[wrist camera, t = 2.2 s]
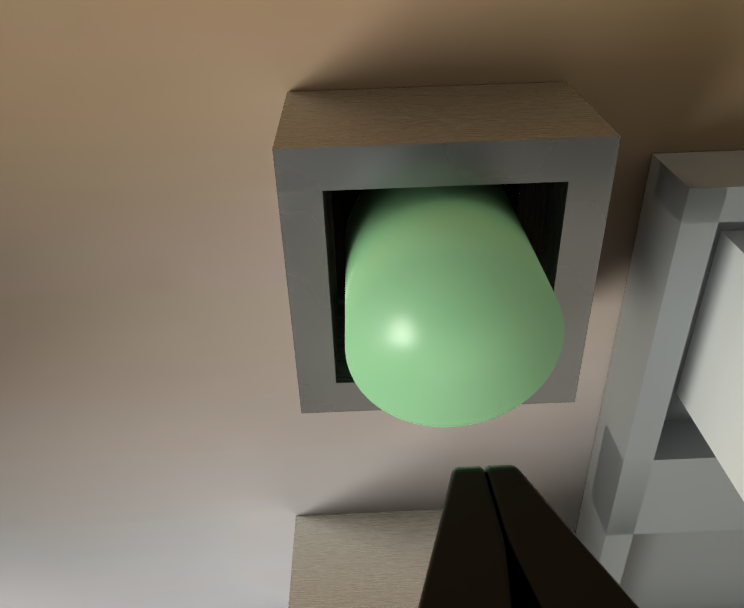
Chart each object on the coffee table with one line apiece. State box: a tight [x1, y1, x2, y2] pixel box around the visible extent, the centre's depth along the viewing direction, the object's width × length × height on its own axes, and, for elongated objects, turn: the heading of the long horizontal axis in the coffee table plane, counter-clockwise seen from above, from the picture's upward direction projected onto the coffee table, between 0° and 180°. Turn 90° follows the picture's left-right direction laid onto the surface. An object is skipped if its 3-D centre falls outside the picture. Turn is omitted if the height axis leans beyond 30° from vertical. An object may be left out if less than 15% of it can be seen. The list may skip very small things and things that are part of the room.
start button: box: [345, 184, 564, 427], centre depth 14 cm, size 4×4×4 cm
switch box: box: [272, 82, 621, 413], centre depth 15 cm, size 6×6×4 cm
